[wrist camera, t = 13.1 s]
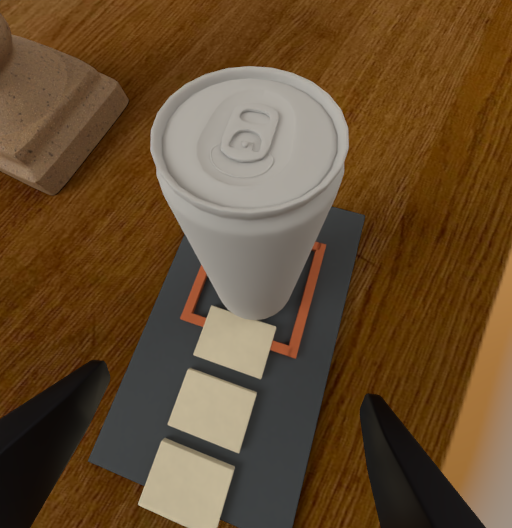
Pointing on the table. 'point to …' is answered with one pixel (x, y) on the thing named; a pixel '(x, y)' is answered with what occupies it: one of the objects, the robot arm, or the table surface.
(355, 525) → the table surface
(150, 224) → the table surface
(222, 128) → the beverage can
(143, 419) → the word mat
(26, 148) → the candle holder
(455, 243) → the table surface
